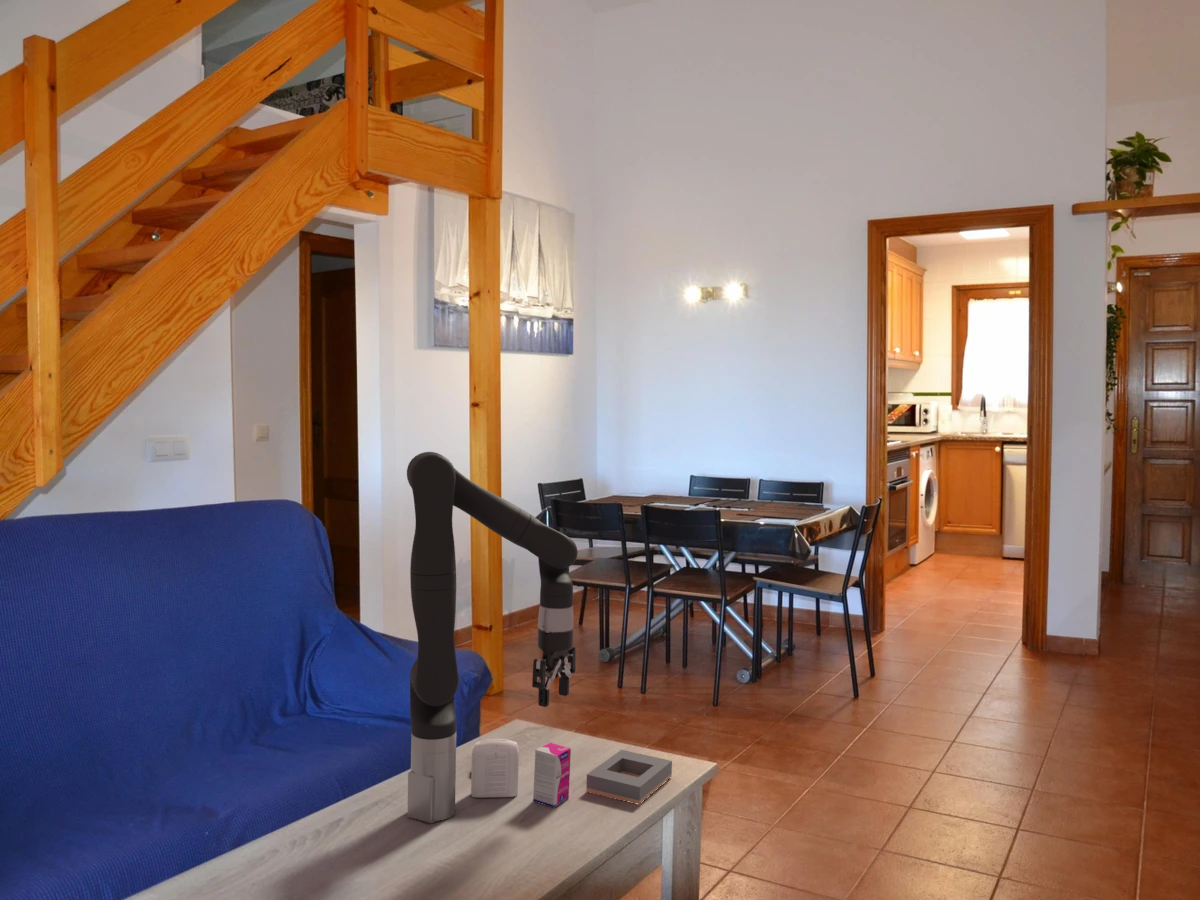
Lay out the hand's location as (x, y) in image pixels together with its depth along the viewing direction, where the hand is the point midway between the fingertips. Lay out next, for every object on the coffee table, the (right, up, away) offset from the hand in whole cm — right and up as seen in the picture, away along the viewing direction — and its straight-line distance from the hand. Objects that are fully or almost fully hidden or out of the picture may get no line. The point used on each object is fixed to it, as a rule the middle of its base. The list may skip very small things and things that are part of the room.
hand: (553, 700), depth 209 cm
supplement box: (-1, -22, +1) cm, 22 cm away
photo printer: (-13, -22, +3) cm, 26 cm away
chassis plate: (+17, -22, +10) cm, 29 cm away
